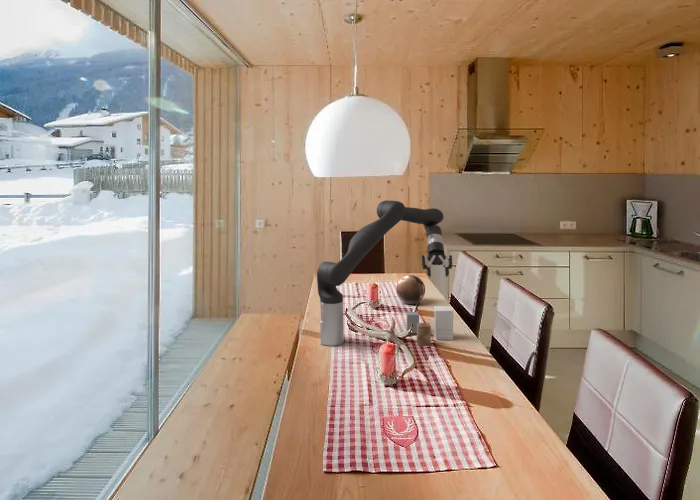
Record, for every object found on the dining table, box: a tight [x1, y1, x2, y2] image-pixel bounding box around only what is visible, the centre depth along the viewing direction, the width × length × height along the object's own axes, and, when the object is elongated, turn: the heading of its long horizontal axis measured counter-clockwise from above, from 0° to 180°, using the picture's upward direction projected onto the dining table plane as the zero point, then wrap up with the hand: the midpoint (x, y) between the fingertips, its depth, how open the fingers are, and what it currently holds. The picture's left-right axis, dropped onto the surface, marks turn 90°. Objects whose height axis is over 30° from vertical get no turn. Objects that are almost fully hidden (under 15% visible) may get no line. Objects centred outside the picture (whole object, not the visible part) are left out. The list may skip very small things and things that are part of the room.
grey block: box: [406, 311, 420, 334], centre depth 230 cm, size 5×5×8 cm
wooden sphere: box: [395, 274, 426, 305], centre depth 277 cm, size 15×15×15 cm
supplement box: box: [433, 305, 454, 341], centre depth 220 cm, size 7×7×13 cm
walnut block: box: [416, 322, 432, 347], centre depth 213 cm, size 5×5×8 cm
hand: (438, 275), depth 236 cm, fingers open, 7 cm apart
